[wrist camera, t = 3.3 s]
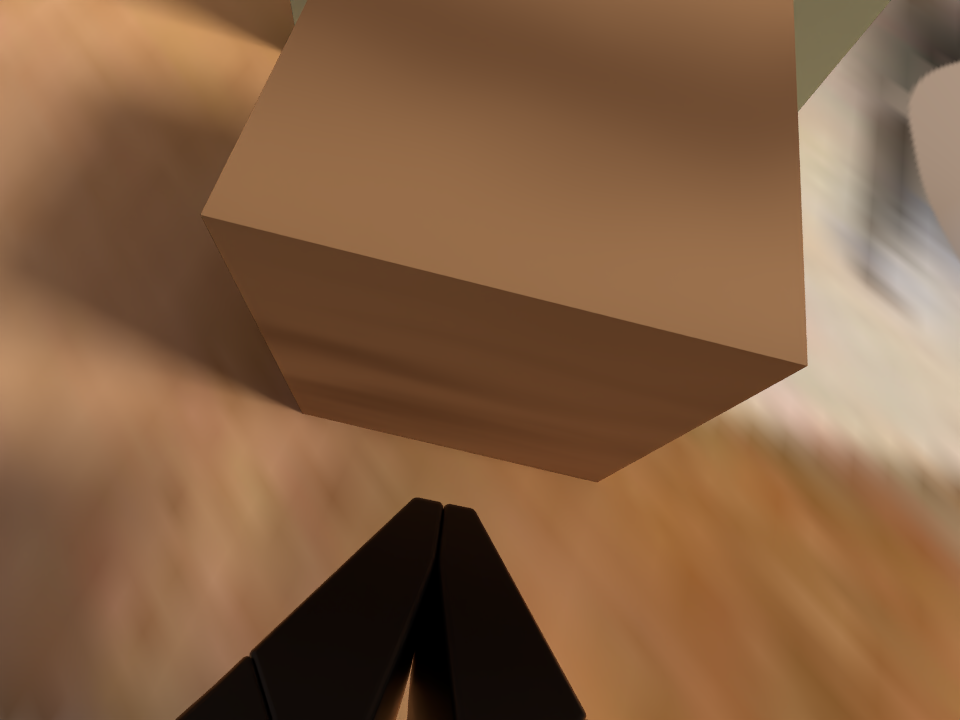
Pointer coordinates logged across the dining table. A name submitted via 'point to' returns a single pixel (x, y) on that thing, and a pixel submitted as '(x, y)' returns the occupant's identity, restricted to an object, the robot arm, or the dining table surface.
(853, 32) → the stop board
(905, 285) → the dining table surface
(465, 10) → the walnut block
